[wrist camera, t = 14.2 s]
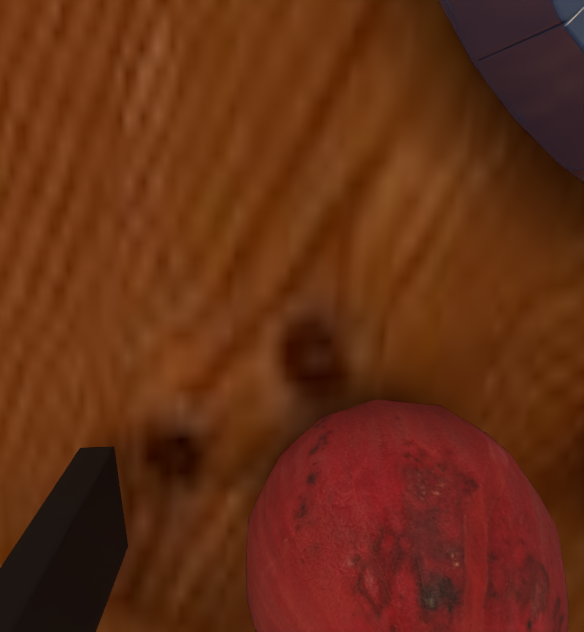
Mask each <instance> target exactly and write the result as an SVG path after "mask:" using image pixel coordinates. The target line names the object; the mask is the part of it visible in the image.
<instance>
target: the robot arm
mask: <svg viewBox="0 0 584 632" xmlns="http://www.w3.org/2000/svg"><path fill="white" fill-rule="evenodd" d="M127 548H128V543H127V535H126V528H125V521H124V514H123V507H122V500H121V493H120V486H119V479H118V472H117V464H116V457H115V450H114V447H91V448H80V449H79V450H78V452H77V454H76V455H75V457H74V458H73V460H72V461H71V463H70V464H69V466H68V467H67V469H66V470H65V472H64V473H63V475H62V476H61V478H60V479H59V481H58V482H57V484H56V485H55V487H54V488H53V490H52V491H51V493H50V494H49V496H48V497H47V499H46V500H45V502H44V503H43V505H42V506H41V508H40V509H39V511H38V512H37V514H36V515H35V517H34V518H33V520H32V521H31V523H30V524H29V526H28V527H27V529H26V530H25V532H24V533H23V535H22V536H21V538H20V539H19V541H18V542H17V544H16V545H15V547H14V548H13V550H12V551H11V553H10V554H9V556H8V557H7V559H6V561H5V562H4V564H3V565H2V567H1V568H0V632H96V630H97V627H98V625H99V622H100V619H101V617H102V614H103V611H104V609H105V606H106V603H107V601H108V598H109V596H110V593H111V590H112V588H113V585H114V582H115V580H116V577H117V574H118V572H119V569H120V566H121V564H122V561H123V558H124V556H125V553H126V551H127Z"/></svg>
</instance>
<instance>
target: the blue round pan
mask: <svg viewBox="0 0 584 632" xmlns="http://www.w3.org/2000/svg"><path fill="white" fill-rule="evenodd" d="M439 2H440V4H441V6H442V8H443V10H444V12H445V13H446V15H447V17H448V19H449V21H450V23H451V24H452V26H453V28H454V30H455V32H456V34H457V35H458V37H459V39H460V41H461V43H462V45H463V46H464V48H465V50H466V52H467V54H468V56H469V58H470V59H471V61H472V63H473V64H474V66H475V67H476V68H477V70H478V71H479V72H480V74H481V75H482V77H483V78H484V79H485V81H486V82H487V83H488V85H489V86H490V87H491V89H492V90H493V91H494V93H495V94H496V95H497V97H498V98H499V100H500V101H501V102H502V104H503V105H504V106H505V108H506V109H507V110H508V112H509V113H510V114H511V116H512V117H513V118H514V119H515V120H516V121H517V122H518V123H519V124H520V125H521V126H522V128H523V129H524V130H525V131H526V132H527V133H528V134H529V135H530V136H531V137H532V138H533V139H534V140H535V141H536V142H537V143H538V144H539V145H540V146H541V147H542V148H543V149H544V150H545V151H546V152H547V153H548V154H549V155H550V156H551V157H552V158H553V159H554V160H555V161H556V162H557V163H558V164H560V165H561V166H562V167H564V168H565V169H566V170H568V171H569V172H570V173H572V174H573V175H574V176H576V177H577V178H579V179H580V180H581V181H583V182H584V0H439Z"/></svg>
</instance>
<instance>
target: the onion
mask: <svg viewBox="0 0 584 632" xmlns="http://www.w3.org/2000/svg"><path fill="white" fill-rule="evenodd" d="M246 584H247V602H248V605H249V609H250V612H251V616H252V619H253V623H254V626H255V630H256V632H568V611H569V603H568V595H567V588H566V580H565V573H564V565H563V559H562V553H561V548H560V542H559V537H558V531H557V528H556V526H555V524H554V522H553V520H552V518H551V516H550V514H549V513H548V511H547V509H546V507H545V505H544V503H543V501H542V499H541V498H540V496H539V495H538V493H537V492H536V490H535V489H534V487H533V486H532V485H531V483H530V482H529V480H528V479H527V477H526V476H525V474H524V473H523V471H522V470H521V469H520V467H519V466H518V464H517V463H516V461H515V460H514V458H513V457H512V456H511V454H510V453H508V452H507V451H506V450H505V449H504V448H503V447H502V446H500V445H499V444H498V443H497V442H496V441H495V440H494V439H493V438H491V437H490V436H489V435H488V434H486V433H485V432H483V431H481V430H480V429H478V428H476V427H475V426H473V425H472V424H470V423H468V422H467V421H465V420H463V419H462V418H460V417H458V416H457V415H455V414H453V413H452V412H450V411H448V410H447V409H445V408H444V407H442V406H437V405H427V404H417V403H407V402H397V401H387V400H372V401H369V402H366V403H363V404H360V405H357V406H354V407H351V408H348V409H345V410H342V411H339V412H336V413H333V414H330V415H327V416H324V417H322V418H321V419H319V420H318V421H317V422H316V423H315V424H314V425H313V426H312V427H310V428H309V429H308V430H307V431H306V432H305V433H304V434H302V435H301V436H300V437H299V438H298V439H297V440H296V441H295V442H293V443H292V444H291V445H290V446H289V447H288V448H287V449H285V450H284V451H283V452H282V453H281V455H280V457H279V459H278V461H277V462H276V464H275V466H274V468H273V470H272V472H271V473H270V475H269V477H268V479H267V481H266V482H265V484H264V486H263V488H262V490H261V492H260V493H259V495H258V498H257V500H256V502H255V505H254V507H253V510H252V512H251V514H250V517H249V519H248V539H247V559H246Z"/></svg>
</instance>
